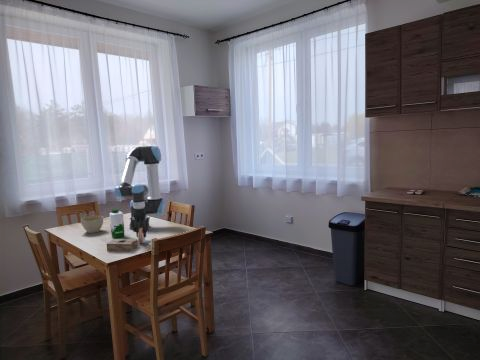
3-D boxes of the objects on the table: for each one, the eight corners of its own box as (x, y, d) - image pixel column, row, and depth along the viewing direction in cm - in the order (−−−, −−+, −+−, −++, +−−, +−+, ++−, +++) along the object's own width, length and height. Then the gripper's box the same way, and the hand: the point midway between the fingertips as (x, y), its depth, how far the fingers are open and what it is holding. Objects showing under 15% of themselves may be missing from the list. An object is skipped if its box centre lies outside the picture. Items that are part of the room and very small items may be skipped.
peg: (140, 242, 227) (139, 228, 226) (145, 242, 227) (143, 228, 226) (138, 243, 225) (137, 229, 223) (143, 243, 224) (142, 229, 223)
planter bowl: (96, 234, 251) (95, 220, 250) (77, 234, 254) (76, 220, 253) (108, 229, 267) (107, 215, 265) (90, 228, 270) (89, 215, 269)
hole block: (115, 246, 222) (114, 238, 222) (137, 246, 220) (137, 239, 219) (107, 251, 213) (106, 243, 212) (130, 251, 210) (129, 244, 209)
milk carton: (122, 234, 250) (120, 208, 247) (126, 237, 242) (124, 210, 240) (110, 236, 244) (108, 210, 242) (113, 239, 237) (111, 212, 235)
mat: (137, 240, 232) (137, 240, 232) (153, 241, 231) (153, 240, 231) (129, 246, 221) (129, 245, 221) (146, 246, 219) (146, 246, 219)
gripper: (125, 208, 220) (128, 243, 223) (147, 209, 218) (150, 243, 221) (131, 206, 227) (133, 239, 231) (152, 206, 225) (155, 240, 228)
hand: (141, 241), depth 226 cm, fingers closed on peg, 2 cm apart
